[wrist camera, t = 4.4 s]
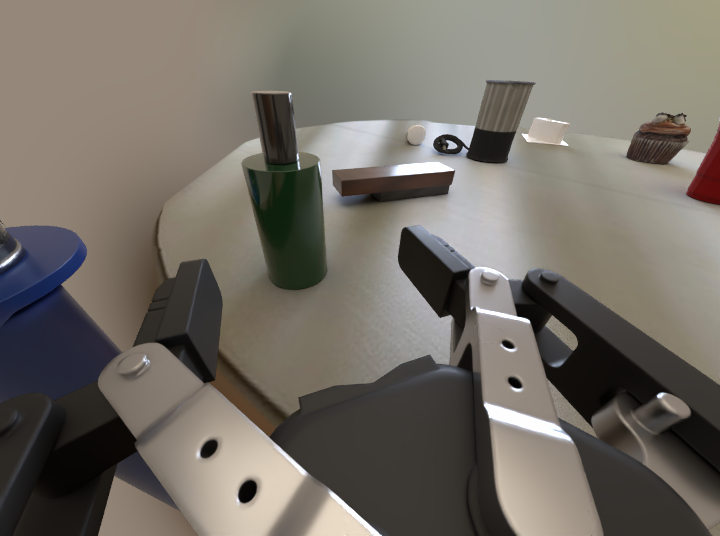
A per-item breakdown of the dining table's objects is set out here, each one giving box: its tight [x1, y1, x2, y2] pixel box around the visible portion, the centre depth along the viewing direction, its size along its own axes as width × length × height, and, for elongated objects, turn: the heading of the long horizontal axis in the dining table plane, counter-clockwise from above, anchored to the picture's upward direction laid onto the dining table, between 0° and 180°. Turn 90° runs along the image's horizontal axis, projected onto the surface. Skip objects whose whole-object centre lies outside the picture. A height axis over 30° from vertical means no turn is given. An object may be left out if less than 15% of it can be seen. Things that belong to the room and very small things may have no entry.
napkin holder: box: [522, 118, 569, 146], centre depth 80 cm, size 15×11×6 cm
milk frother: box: [433, 80, 535, 163], centre depth 57 cm, size 14×16×15 cm
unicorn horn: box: [407, 125, 426, 145], centre depth 77 cm, size 5×24×5 cm, turn 171°
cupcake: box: [627, 113, 691, 164], centre depth 60 cm, size 10×10×10 cm
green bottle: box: [242, 91, 327, 290], centre depth 20 cm, size 5×5×14 cm
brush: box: [332, 162, 455, 202], centre depth 39 cm, size 18×5×4 cm, turn 110°
